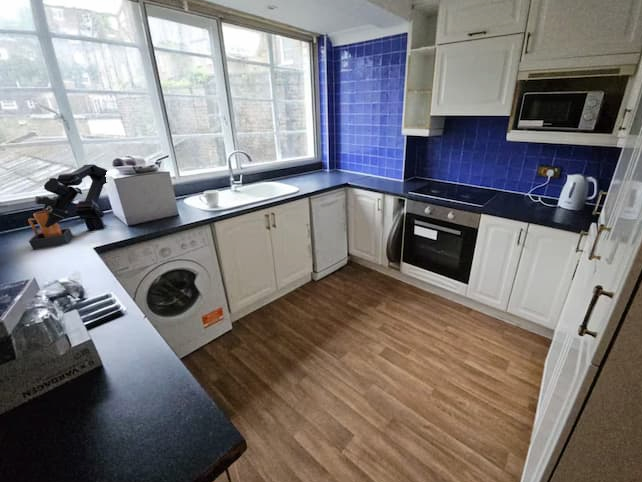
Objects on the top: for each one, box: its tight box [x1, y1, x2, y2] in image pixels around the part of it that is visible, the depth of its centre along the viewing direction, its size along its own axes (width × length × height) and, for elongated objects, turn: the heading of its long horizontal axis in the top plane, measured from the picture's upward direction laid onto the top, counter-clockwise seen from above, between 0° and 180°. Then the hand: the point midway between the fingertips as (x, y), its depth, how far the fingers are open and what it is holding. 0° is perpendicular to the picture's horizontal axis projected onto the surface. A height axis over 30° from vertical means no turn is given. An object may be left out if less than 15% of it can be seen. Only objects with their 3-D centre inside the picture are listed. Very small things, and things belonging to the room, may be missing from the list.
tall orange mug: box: [27, 210, 63, 238], centre depth 141 cm, size 9×6×13 cm
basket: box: [28, 227, 74, 251], centre depth 144 cm, size 12×11×5 cm
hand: (44, 225), depth 140 cm, fingers closed on tall orange mug, 6 cm apart
